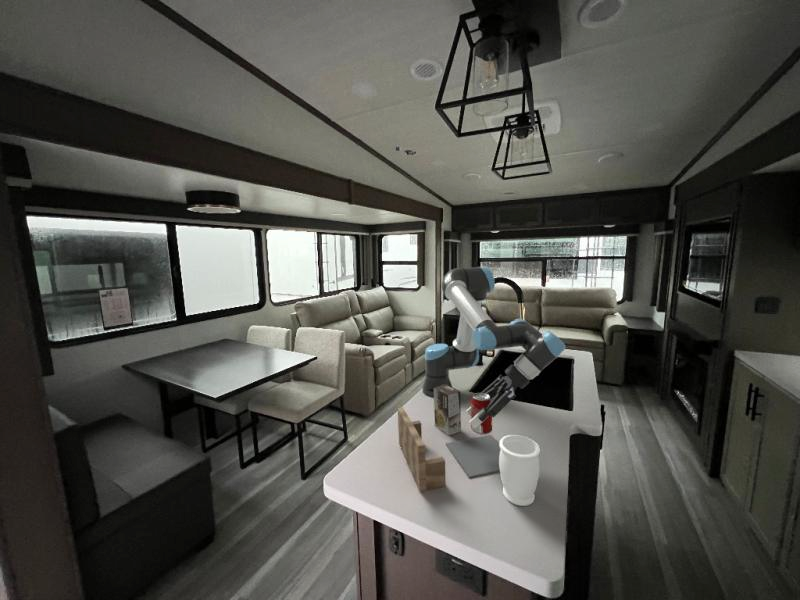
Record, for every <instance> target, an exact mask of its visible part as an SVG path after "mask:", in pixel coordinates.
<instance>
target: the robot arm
mask: <svg viewBox="0 0 800 600" xmlns="http://www.w3.org/2000/svg"><path fill="white" fill-rule="evenodd" d="M495 284H496V283H495V277H494V274H493V272H492V271H491V269H489V268H488V267H485V266H482V267H481V266H474V267H456V268H453V269H450V270H448V272H447V273H446V274H445V275H444V276H443V278H442V281H441V289H442V292H443V295H444V296H445V298H446V299H447V300H449V301H451V302H452V303H453V304H454V306H455V307H456V309H457V310H458V311H459V313H460V315H459V321H458V327H457V334H456V338H455V339H453V340H452V345H450V346H449V345H448V344H446V343H434V344H431V345H429V346H427V347H426V348H425V351H424V361H425V362H424V363H425V364H424V365H425V366H424V367H425V368H424V370H425V377H424V381H423V383H422V393H423V394H424V395H426V396H428V397H430V398H431V397H432V398H434V388H435V387H438V386H441V385H444V384H446V385H449V386H451V387H453V384H452V381H451V379H450V373H449V372H450V371H453V370H462V369H469V368H473V367H476V366H477V364H478V363H479V360H480V354H479V353H480V351H493V350H500V349H507V348H509V349H510V348H518V347H521V348H522V349H524V350H525V351H524V352H523V353H522V354H520V355H519V356H518V357H517V358H516V359H515V360H514V361H513V363H514V364H510V365H509V366H508V367H507V368H505V370H504V373H505V376H503V375H502V374H499V376H498V377H496V378H495V379H494V381H492V383H490V384H488V386H487V387H486V388H485V389H483V390H482V391H481V392H480V393H485V394H488V395H489V396H490V399H491V402H490V403H489V404H488V406H487V407H486V408H484V407H483V409H482V410H481V411H480V412H479V413H478V414H477V415H475V416H474V417H473V418H472V419H471V418H470V420H469V421H468V423H469V424H470V426H471V425H472V426H473V427H474V428H476V427H478V426H479V425H480V424H481V423H482V422H483V421H484V420H485V419H486V418H487V417H488V416H492V418H495V417H496V416H497V415H498V414H499V413H500V412H501V411H502V410H503V409H504V408H505V406H507V405H508V404H509V403H510V402H511V401H512V400H514V399H515V398H516V397H517V394H515V391H516V389H517V388H520V389H524V388H525V387H526V386H528V385H529V384H530V380H533V379H534V378H536V377H537V376H539V375H540V373H541V372H542V371H543V370H544V369H545V368H546V367H547V366H549V365H550V364H551V363H553V362H554V360H555V359H557V358H558V357H559V356H560V355H561V354H562V353H563V352H564V351H565V349H566V347H567V346H566V344H565V342H564V341H562V340H561V339H560V338H559V337H558V336H557V335H555V333H553V332H551V331H550V330H547V331H545V332H544V333H541V331H539V330H538V329H537V328H536V327H534V326H533V325H532V324H531V323H530V322H529V321H528V322H527V321H526V320H525V319H524V318H516V319H514V320H512V321H510V322H509V324H507V325H497V323H495V322H494V321H493V320H492V319H491V317H490V316H489V315H488V313H487V312H486V311H485V310H484V308H483V307H482V305H483V302H484V301H485V300H486V299H487V297H488V296H487V295H488V294H490V293H492V292H493V291H494V290H495V286H496V285H495ZM465 412H466V413H467V414H468V415H469V416H471V406H469V408H467V409H466V411H465Z"/></svg>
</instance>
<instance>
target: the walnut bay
mask: <svg viewBox="0 0 800 600" xmlns="http://www.w3.org/2000/svg"><path fill="white" fill-rule="evenodd" d="M397 427H398V428H397V430H398V446H399V445H400V446H399V448H400V447H401V448H400V451H401V450H402V451H401V452H403V453H402V455H403V454H404V455H403V457H404V459H406V460H405V462H406V461H407V462H406V463H407V466H409V467H408V469H409V471H410V473H411V476H412V478H413V481H414V483H415V485H416V486H417V489H418V492H419V493H422V492H425V491H430V490H435V489H440V488H443V487H446V480H447V479H446V459H445V458H444V457H443V456H438V457H433V458H429V459H426V444H425V443H424V441H423V436H422V433H423V431H422V422H421V421H420V420H415V421H411V419H410V416H409V415H408V414H407V412H406V410H405V409H404V407H398V408H397Z"/></svg>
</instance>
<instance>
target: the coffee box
mask: <svg viewBox="0 0 800 600" xmlns="http://www.w3.org/2000/svg"><path fill="white" fill-rule="evenodd" d="M433 404H434V405H433V407H434V427H436V428H437V429H439V430H441V431H442V432H443V433H444V434H446V435H448V436H451V435H454V434H457V433H460V432H461V430H462V427H461V426H462V424H461V423H462V421H461V420H462V417H461V415H462V413H461V411H462V409H461V407H462V406H461V390H459V389H457V388H455V387H453V386H452V387H451V386H449V385H446V384H444V385H441V386H438V387H435V388H434V397H433Z"/></svg>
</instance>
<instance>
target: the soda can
mask: <svg viewBox="0 0 800 600" xmlns="http://www.w3.org/2000/svg"><path fill="white" fill-rule="evenodd" d="M491 401H492V399H490V396H489V395H488V394H485V393H481V392H475V393H474V394H473V395H472V398H471V400H470V407H471V415H470V420H471V419H472V418H473V417H474V416H475V415H477V414H478V413H479V412H480V411H481V410H482V409H483V407H484V408H486V407H487V406H488V404H489V403H490V402H491ZM470 428H471V430H472V432H474V433H475V434H477V435H480V436H486V435H490V434H491V433H492V431H493V417H492V416H488V417H487V418H486V419H485V420H484V421H483V422H482V423H481V424H480V425H479V426H478V427H476V428H474V427H473V426H472V425H471V424H470Z"/></svg>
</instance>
